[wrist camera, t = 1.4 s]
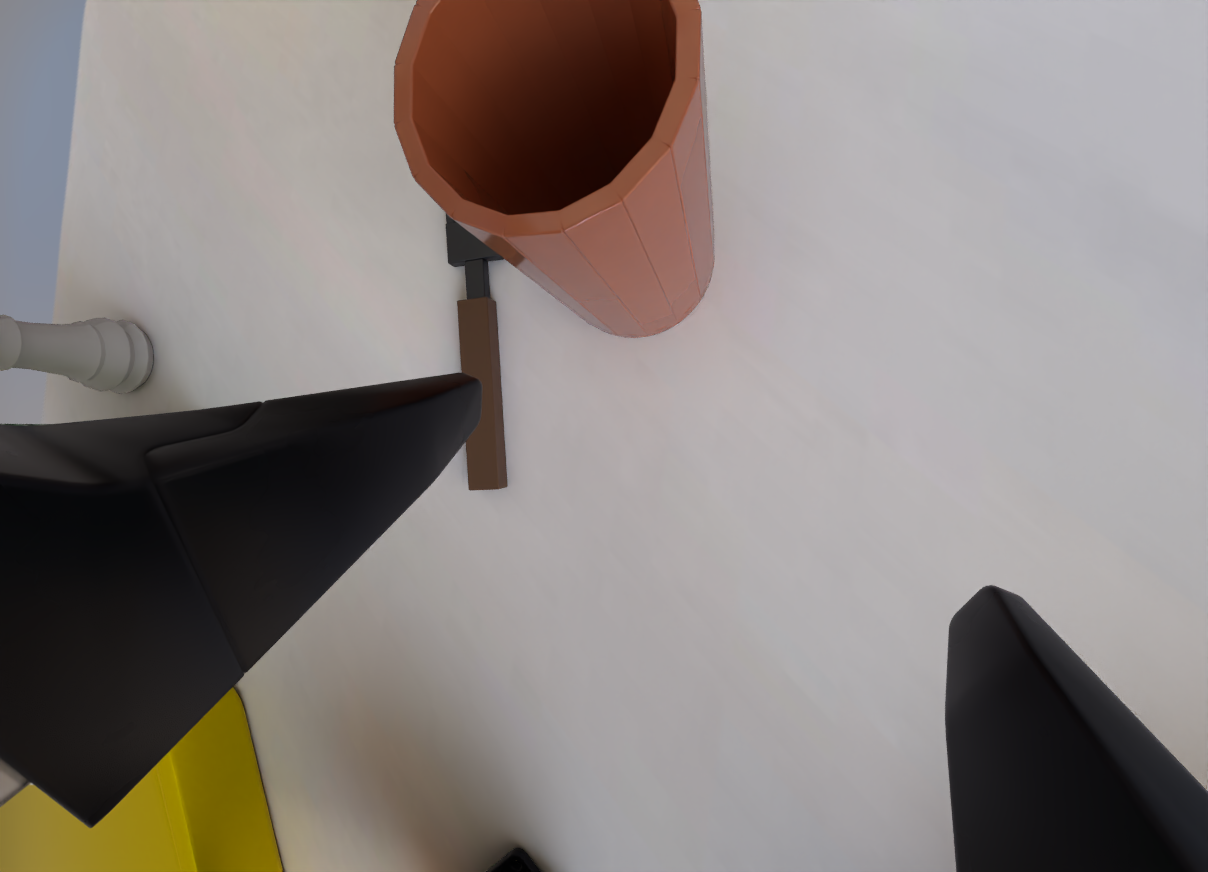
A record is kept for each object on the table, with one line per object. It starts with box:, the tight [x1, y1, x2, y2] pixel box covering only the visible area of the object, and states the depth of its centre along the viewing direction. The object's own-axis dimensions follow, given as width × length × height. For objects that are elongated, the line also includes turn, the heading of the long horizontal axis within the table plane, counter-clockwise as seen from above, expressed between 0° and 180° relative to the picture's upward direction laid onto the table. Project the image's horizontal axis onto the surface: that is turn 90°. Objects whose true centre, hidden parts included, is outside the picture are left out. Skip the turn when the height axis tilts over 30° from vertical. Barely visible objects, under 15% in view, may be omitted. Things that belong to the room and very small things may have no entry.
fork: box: [446, 213, 507, 490], centre depth 24 cm, size 17×3×1 cm, turn 3°
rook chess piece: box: [0, 315, 154, 394], centre depth 26 cm, size 4×4×8 cm
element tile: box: [0, 687, 283, 872], centre depth 28 cm, size 15×15×5 cm
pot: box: [394, 0, 715, 338], centre depth 17 cm, size 7×7×12 cm
